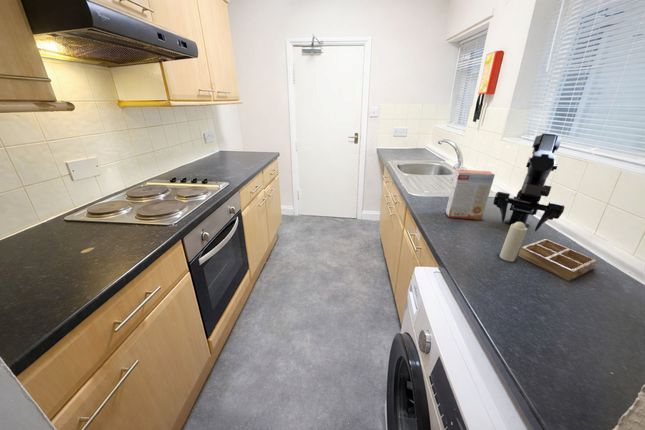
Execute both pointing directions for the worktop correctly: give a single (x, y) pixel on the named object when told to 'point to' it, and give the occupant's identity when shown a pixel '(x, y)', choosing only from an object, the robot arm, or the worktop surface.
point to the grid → (557, 258)
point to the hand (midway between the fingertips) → (518, 226)
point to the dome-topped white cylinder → (513, 241)
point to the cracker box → (469, 194)
